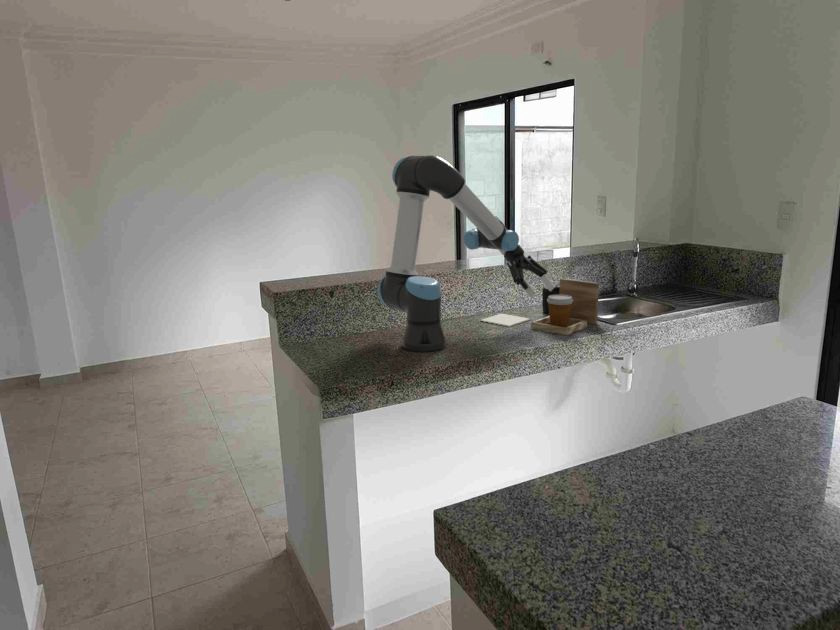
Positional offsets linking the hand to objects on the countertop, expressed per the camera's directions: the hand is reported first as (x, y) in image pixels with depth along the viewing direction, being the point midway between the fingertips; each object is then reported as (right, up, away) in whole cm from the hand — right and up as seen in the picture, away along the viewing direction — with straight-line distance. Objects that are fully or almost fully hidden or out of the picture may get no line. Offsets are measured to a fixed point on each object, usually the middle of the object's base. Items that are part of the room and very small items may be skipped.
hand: (543, 292), depth 232 cm
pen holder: (+9, -8, +22) cm, 25 cm away
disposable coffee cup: (+6, -14, -2) cm, 15 cm away
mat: (-13, -11, +10) cm, 20 cm away
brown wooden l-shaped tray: (+8, -13, 0) cm, 15 cm away
